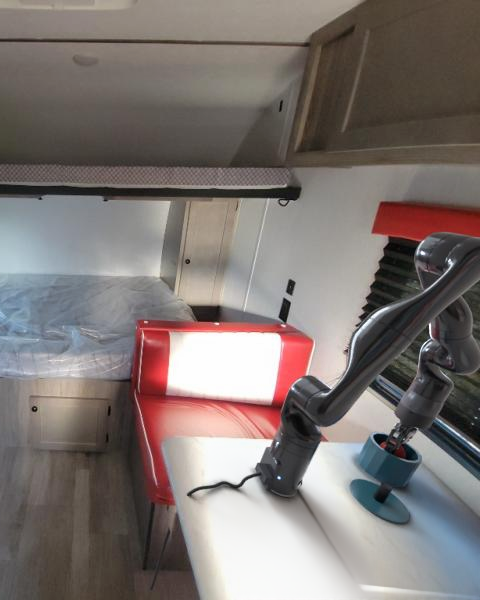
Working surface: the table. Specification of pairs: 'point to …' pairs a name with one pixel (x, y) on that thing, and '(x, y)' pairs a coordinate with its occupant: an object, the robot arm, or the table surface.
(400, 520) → the lid
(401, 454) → the onion
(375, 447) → the pot
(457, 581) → the table surface
